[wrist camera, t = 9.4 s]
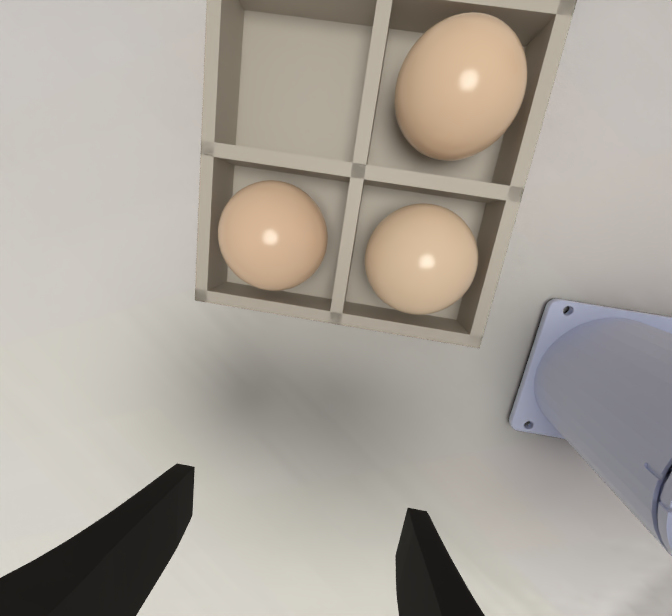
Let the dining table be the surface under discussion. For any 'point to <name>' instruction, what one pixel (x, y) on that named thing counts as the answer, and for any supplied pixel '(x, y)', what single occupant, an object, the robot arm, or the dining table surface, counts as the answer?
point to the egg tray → (356, 146)
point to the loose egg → (460, 86)
